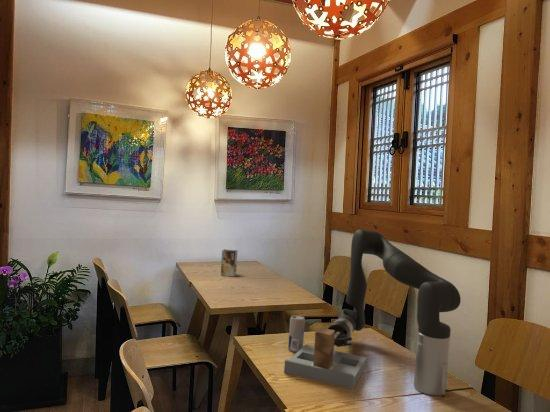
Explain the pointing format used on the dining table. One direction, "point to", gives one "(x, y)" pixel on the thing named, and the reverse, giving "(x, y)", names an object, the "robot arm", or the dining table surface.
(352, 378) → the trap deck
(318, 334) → the walnut block
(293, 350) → the energy drink
